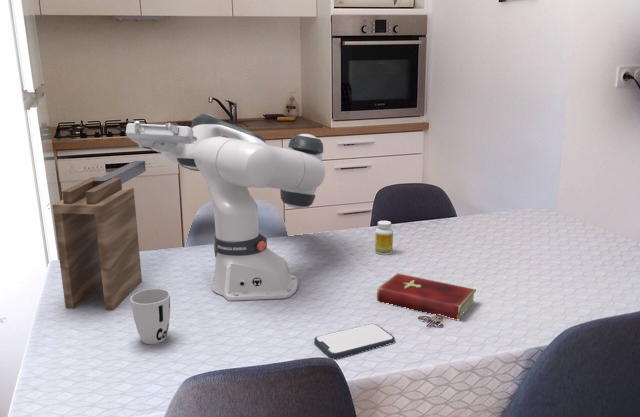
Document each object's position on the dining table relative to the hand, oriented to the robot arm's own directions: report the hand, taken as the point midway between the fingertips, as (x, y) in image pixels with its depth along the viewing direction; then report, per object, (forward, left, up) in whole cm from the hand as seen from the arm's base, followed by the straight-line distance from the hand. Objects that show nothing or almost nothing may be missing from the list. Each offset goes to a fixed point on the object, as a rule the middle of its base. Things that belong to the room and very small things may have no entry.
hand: (151, 124), depth 174 cm
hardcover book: (-79, +32, -40) cm, 94 cm away
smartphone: (-62, +54, -40) cm, 91 cm away
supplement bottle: (-69, -4, -39) cm, 79 cm away
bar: (+2, +18, -13) cm, 23 cm away
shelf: (+2, +34, -39) cm, 52 cm away
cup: (-19, +56, -39) cm, 71 cm away
